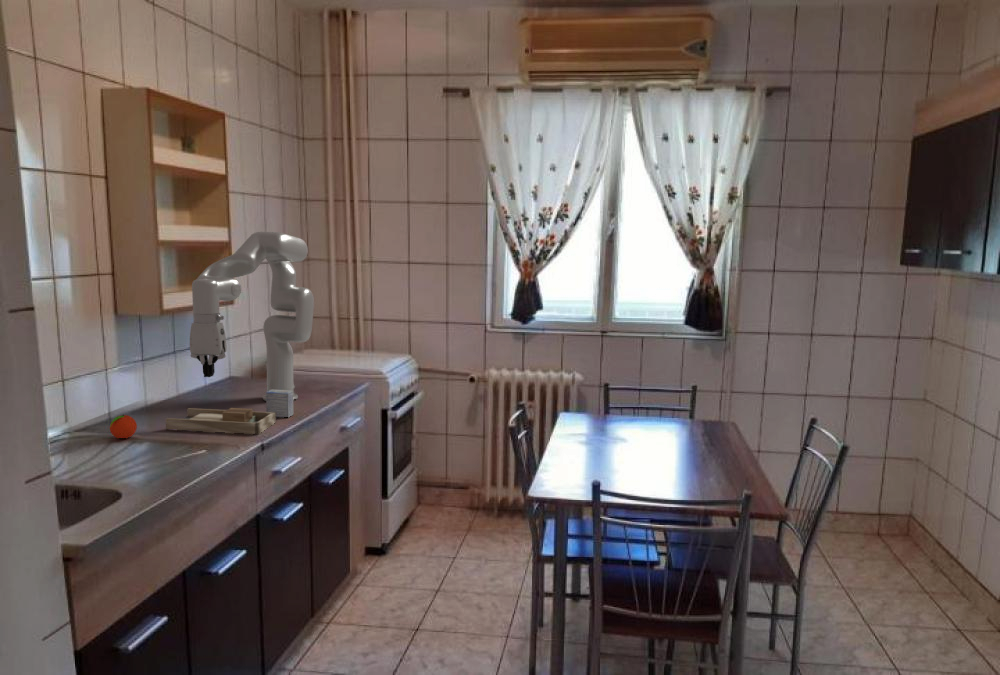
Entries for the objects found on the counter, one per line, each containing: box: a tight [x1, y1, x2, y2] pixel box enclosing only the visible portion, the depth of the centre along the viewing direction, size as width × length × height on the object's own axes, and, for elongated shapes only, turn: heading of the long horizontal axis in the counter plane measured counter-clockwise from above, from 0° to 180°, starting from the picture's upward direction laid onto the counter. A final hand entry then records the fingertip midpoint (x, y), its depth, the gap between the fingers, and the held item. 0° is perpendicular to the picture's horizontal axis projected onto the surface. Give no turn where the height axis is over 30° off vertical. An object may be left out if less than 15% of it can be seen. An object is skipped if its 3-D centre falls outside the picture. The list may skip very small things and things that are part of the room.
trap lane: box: [165, 407, 277, 436], centre depth 213 cm, size 14×29×4 cm, turn 87°
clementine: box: [109, 414, 138, 439], centre depth 196 cm, size 8×7×7 cm
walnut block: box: [222, 407, 254, 422], centre depth 212 cm, size 6×7×3 cm
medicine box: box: [265, 390, 294, 419], centre depth 228 cm, size 8×4×9 cm, turn 84°
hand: (208, 376), depth 212 cm, fingers closed
